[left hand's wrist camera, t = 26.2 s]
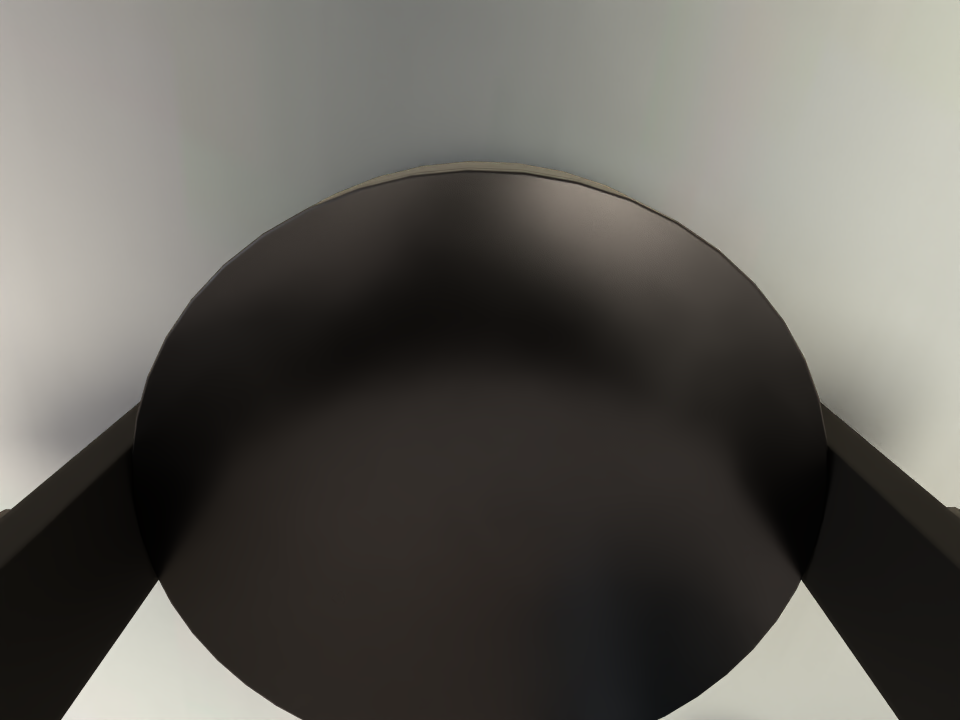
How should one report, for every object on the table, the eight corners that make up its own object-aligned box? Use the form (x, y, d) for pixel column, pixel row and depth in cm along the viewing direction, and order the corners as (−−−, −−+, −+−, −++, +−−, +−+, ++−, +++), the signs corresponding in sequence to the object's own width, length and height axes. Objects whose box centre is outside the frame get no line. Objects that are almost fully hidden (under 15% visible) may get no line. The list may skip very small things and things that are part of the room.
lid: (737, 678, 14) (772, 757, 13) (238, 689, 14) (206, 767, 13) (827, 150, 10) (901, 156, 8) (116, 171, 10) (40, 182, 8)
